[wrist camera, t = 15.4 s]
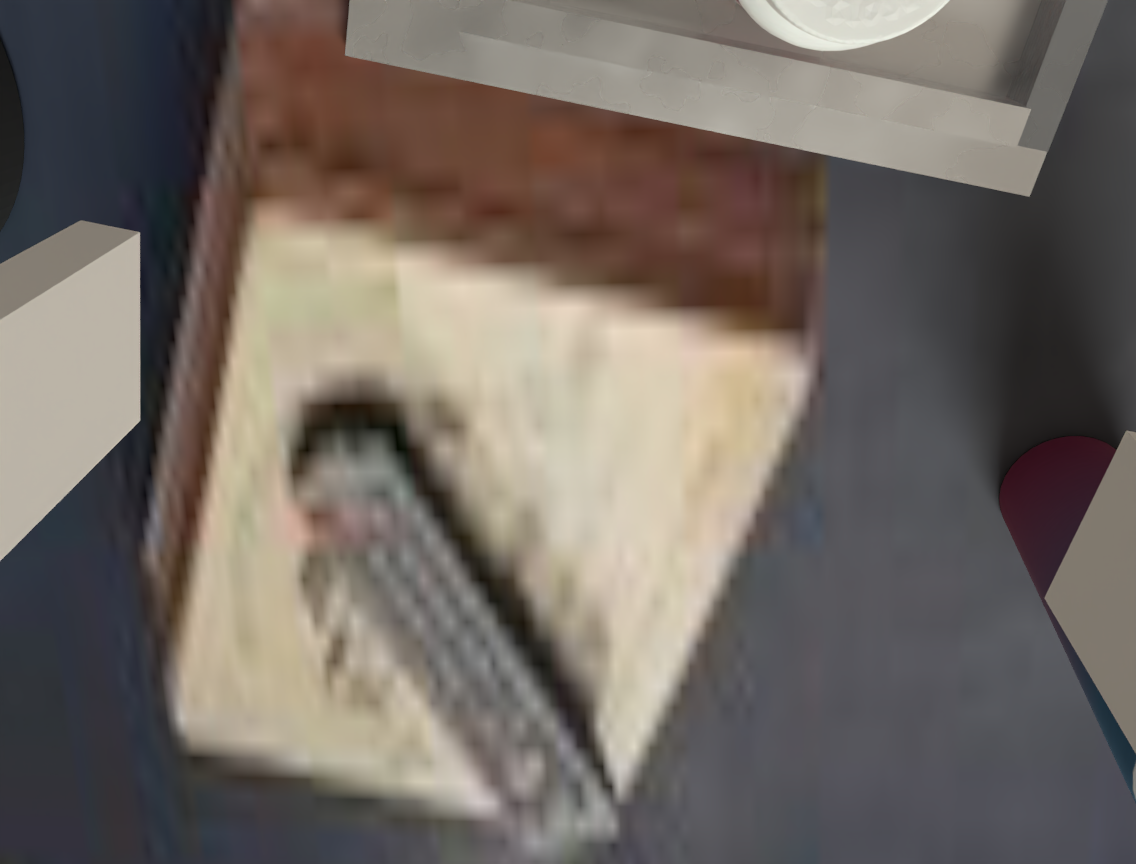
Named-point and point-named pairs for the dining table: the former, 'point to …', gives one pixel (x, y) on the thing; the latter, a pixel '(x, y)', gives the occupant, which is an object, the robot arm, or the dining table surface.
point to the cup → (1061, 542)
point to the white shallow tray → (771, 73)
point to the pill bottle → (839, 20)
